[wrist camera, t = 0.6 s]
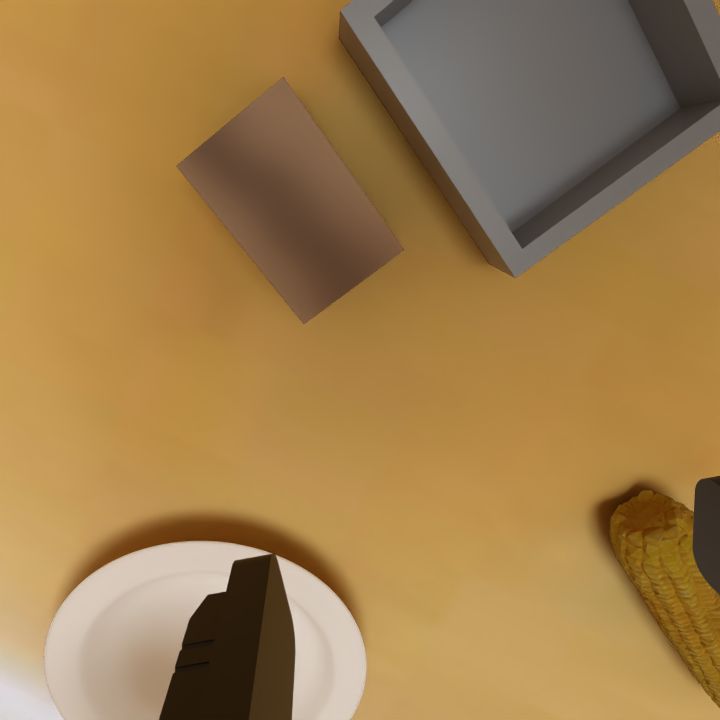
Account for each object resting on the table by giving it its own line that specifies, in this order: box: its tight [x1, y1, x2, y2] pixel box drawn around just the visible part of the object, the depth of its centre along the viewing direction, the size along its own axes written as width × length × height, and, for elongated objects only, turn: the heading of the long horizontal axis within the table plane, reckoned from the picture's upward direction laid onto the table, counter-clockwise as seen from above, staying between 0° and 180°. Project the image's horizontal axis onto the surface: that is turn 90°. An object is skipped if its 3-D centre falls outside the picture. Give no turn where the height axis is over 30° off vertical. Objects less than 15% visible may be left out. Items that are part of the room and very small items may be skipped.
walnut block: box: [177, 77, 404, 324], centre depth 27 cm, size 6×9×5 cm, turn 36°
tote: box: [339, 0, 720, 278], centre depth 25 cm, size 13×14×4 cm
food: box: [610, 490, 720, 708], centre depth 36 cm, size 21×6×6 cm, turn 35°
